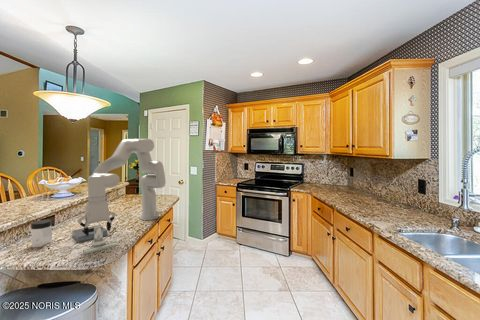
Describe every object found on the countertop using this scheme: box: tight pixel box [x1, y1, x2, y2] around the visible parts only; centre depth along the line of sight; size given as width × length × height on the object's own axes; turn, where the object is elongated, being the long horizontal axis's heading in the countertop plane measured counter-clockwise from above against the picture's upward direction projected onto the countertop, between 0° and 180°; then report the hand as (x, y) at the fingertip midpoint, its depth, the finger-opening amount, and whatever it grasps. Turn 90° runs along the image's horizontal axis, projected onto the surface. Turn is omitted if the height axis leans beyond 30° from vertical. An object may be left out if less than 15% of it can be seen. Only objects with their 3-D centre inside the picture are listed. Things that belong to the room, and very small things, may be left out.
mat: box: [82, 242, 118, 255], centre depth 118 cm, size 14×12×1 cm
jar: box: [30, 219, 53, 248], centre depth 121 cm, size 9×8×12 cm
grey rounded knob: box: [91, 225, 106, 248], centre depth 118 cm, size 6×6×9 cm
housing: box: [71, 224, 108, 244], centre depth 130 cm, size 14×14×4 cm
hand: (98, 232), depth 118 cm, fingers open, 9 cm apart
